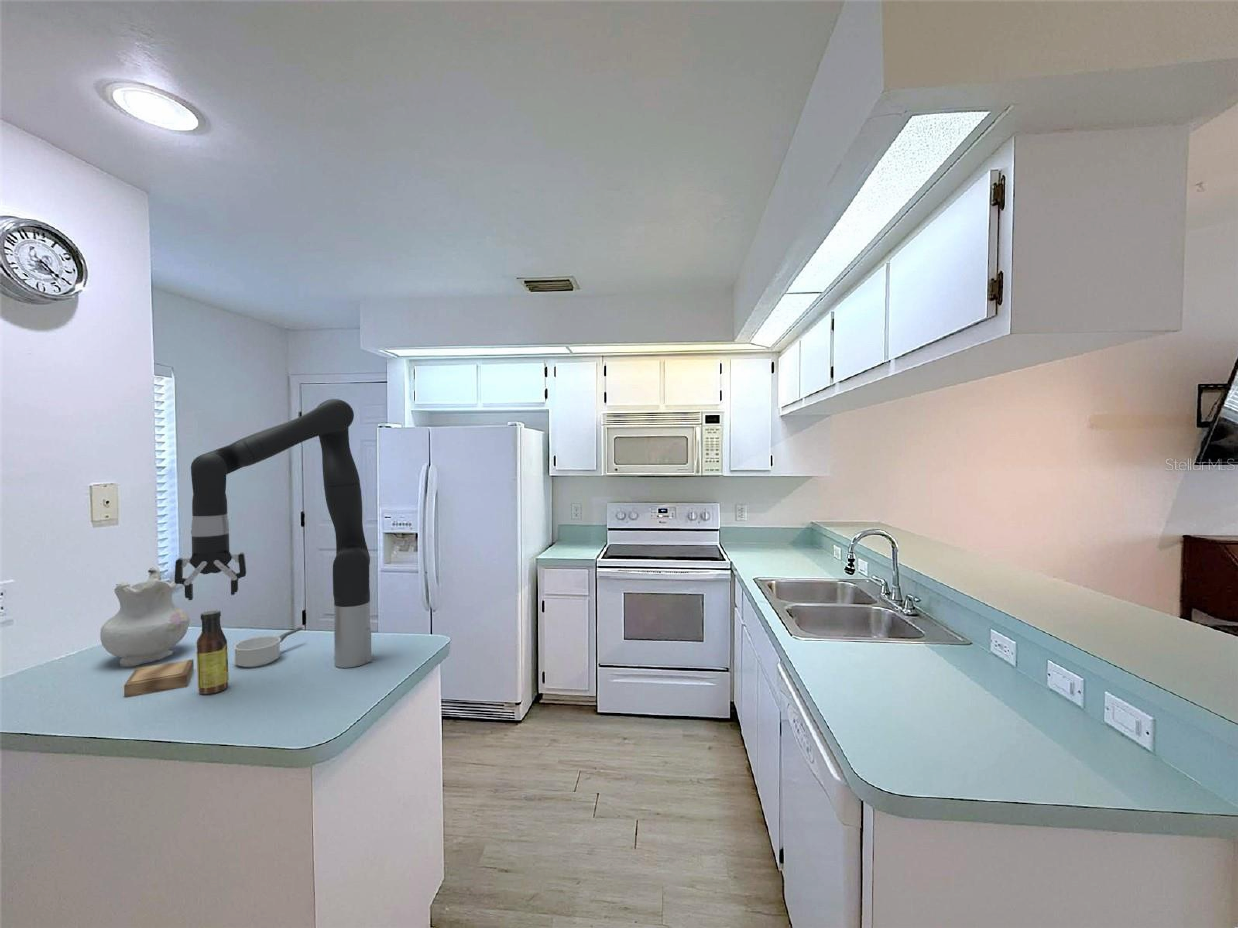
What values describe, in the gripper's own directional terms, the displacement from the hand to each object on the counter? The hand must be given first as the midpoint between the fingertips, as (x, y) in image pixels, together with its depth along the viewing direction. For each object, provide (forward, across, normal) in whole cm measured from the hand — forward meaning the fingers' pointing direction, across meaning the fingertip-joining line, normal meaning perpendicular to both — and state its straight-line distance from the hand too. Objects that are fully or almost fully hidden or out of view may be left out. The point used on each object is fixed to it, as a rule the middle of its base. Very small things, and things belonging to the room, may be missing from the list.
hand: (212, 596), depth 135 cm
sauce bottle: (+24, 0, 0) cm, 24 cm away
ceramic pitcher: (+24, +19, -37) cm, 48 cm away
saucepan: (+24, -12, -19) cm, 33 cm away
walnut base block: (+24, +12, -12) cm, 29 cm away
